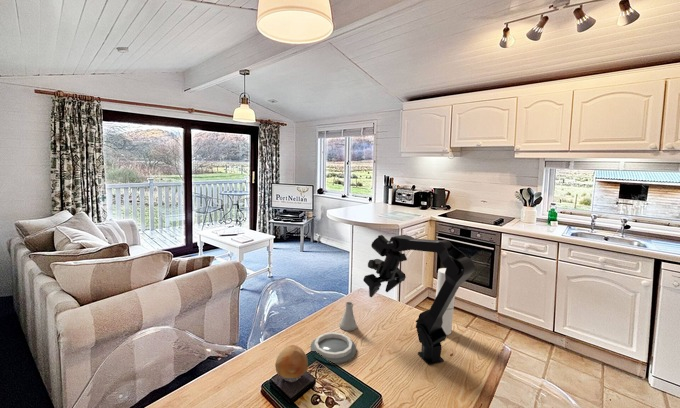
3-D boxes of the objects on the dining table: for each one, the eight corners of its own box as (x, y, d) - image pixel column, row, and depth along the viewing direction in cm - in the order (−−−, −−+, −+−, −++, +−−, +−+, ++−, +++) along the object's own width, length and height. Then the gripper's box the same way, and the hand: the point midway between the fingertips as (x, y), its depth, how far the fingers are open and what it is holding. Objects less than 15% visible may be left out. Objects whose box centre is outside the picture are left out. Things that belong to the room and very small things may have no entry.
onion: (269, 375, 95) (269, 345, 94) (297, 363, 101) (298, 335, 100) (284, 395, 87) (285, 362, 86) (313, 380, 94) (314, 350, 92)
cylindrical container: (448, 326, 129) (454, 268, 126) (453, 335, 122) (459, 275, 119) (431, 324, 130) (436, 267, 126) (434, 334, 123) (440, 273, 119)
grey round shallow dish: (363, 359, 105) (363, 352, 105) (317, 368, 99) (318, 360, 99) (345, 334, 120) (346, 327, 119) (305, 340, 114) (305, 333, 114)
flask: (336, 323, 127) (337, 300, 126) (352, 320, 130) (353, 298, 129) (344, 332, 121) (345, 308, 119) (360, 329, 124) (361, 305, 122)
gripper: (393, 248, 131) (381, 277, 137) (360, 254, 120) (349, 285, 126) (412, 264, 124) (398, 294, 130) (379, 273, 112) (366, 305, 118)
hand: (378, 294), depth 126 cm, fingers open, 9 cm apart
